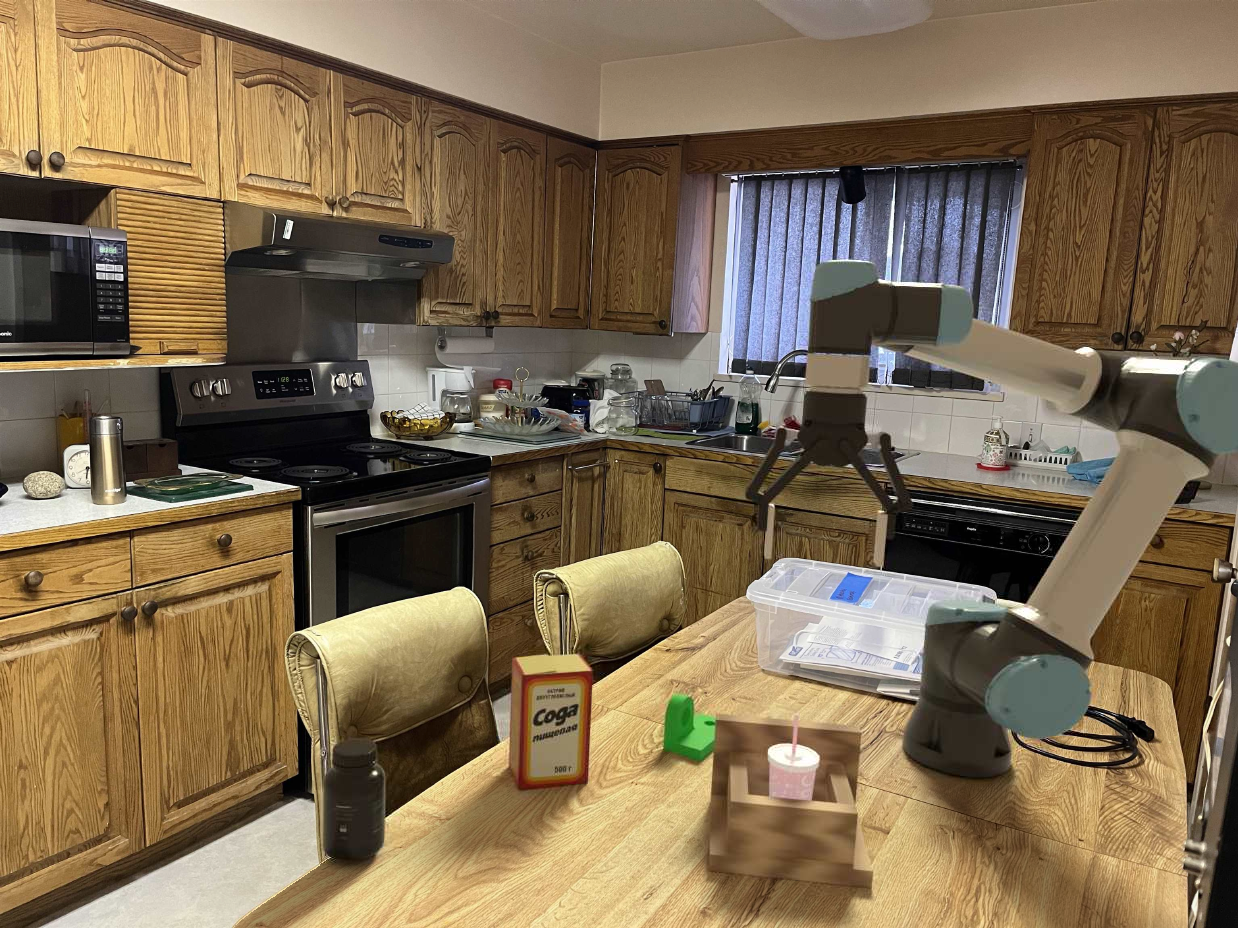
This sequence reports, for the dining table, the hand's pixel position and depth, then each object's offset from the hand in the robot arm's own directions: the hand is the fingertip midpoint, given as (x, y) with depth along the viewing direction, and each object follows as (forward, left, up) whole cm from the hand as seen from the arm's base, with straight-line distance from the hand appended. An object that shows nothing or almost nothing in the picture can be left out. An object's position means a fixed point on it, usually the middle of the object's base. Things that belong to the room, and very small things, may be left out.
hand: (822, 560), depth 115 cm
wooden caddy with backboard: (+3, +9, -33) cm, 34 cm away
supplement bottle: (+52, +20, -33) cm, 65 cm away
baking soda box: (+34, -2, -33) cm, 47 cm away
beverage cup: (+3, +9, -31) cm, 32 cm away
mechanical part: (+14, -17, -33) cm, 40 cm away
